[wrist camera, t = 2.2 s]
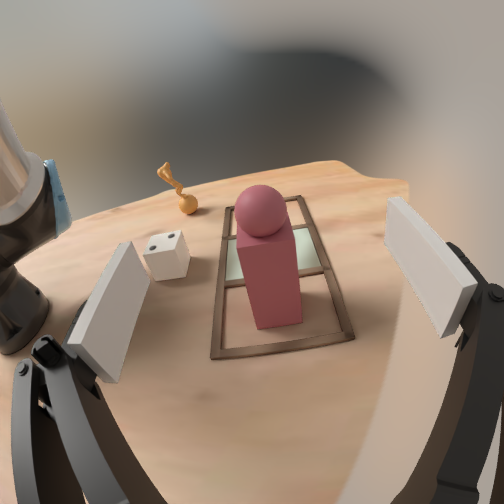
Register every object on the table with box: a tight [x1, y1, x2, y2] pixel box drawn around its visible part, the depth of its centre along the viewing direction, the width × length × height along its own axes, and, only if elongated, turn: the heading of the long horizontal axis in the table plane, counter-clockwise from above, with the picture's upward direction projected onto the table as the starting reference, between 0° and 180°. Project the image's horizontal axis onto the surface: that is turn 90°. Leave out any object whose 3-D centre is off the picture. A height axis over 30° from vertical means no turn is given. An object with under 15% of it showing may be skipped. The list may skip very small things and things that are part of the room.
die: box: [143, 230, 191, 281], centre depth 41 cm, size 5×5×5 cm
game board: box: [210, 195, 355, 360], centre depth 41 cm, size 15×34×1 cm, turn 1°
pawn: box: [234, 185, 303, 329], centre depth 28 cm, size 5×5×15 cm
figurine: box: [158, 162, 198, 214], centre depth 53 cm, size 8×6×12 cm
